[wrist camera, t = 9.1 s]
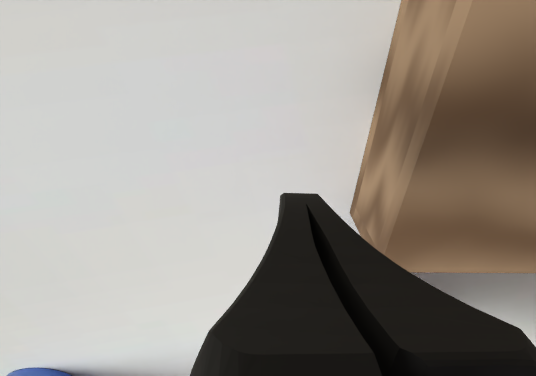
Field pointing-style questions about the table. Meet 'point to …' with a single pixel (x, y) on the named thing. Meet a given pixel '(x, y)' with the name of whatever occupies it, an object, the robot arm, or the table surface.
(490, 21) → the walnut cabinet
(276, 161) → the table surface
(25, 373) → the water bottle
